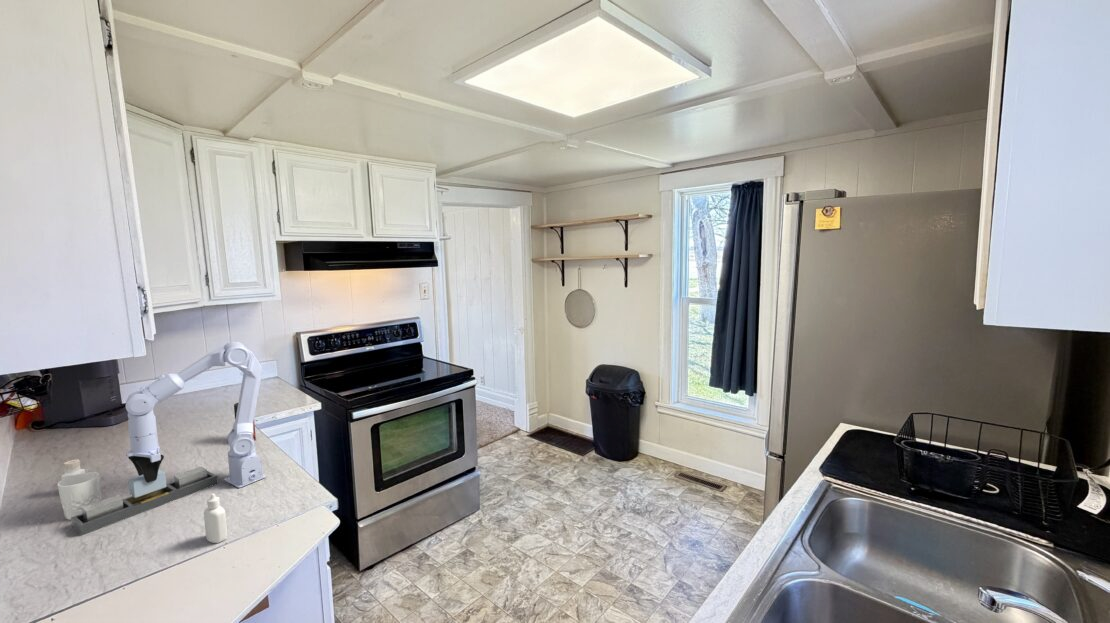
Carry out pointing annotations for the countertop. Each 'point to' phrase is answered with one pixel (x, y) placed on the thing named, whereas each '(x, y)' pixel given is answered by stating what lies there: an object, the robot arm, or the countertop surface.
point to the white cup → (79, 492)
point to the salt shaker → (72, 468)
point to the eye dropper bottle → (215, 521)
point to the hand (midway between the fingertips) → (148, 479)
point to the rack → (140, 501)
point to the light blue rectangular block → (146, 484)
